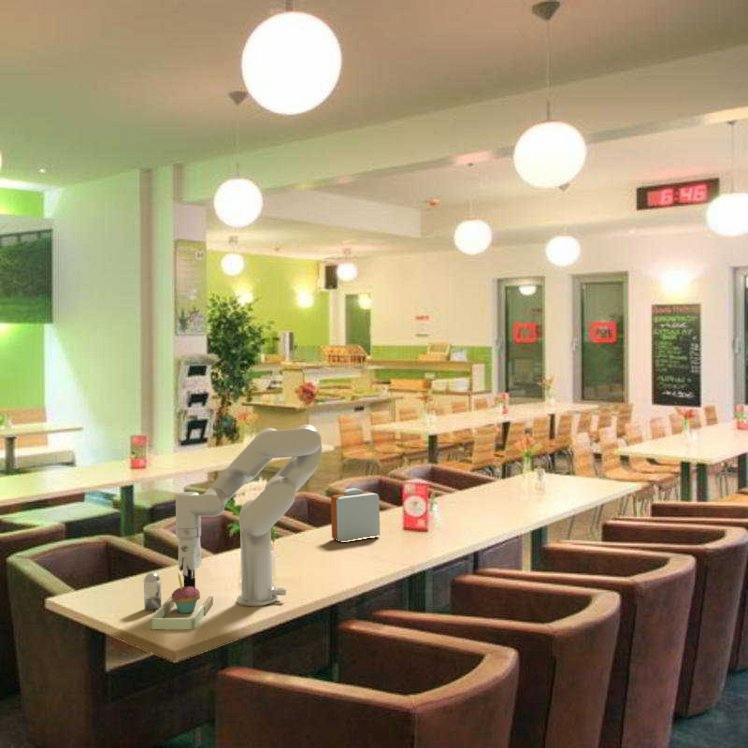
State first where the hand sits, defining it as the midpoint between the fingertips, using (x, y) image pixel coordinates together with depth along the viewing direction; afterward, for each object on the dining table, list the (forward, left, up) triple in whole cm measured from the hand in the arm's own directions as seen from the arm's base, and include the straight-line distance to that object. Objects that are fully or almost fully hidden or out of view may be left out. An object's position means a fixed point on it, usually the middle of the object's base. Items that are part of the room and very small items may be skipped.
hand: (189, 590), depth 258 cm
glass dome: (+11, +4, -5) cm, 12 cm away
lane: (0, +5, -4) cm, 7 cm away
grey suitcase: (-47, -85, -5) cm, 98 cm away
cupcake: (0, +5, -5) cm, 7 cm away
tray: (0, +16, -4) cm, 17 cm away
